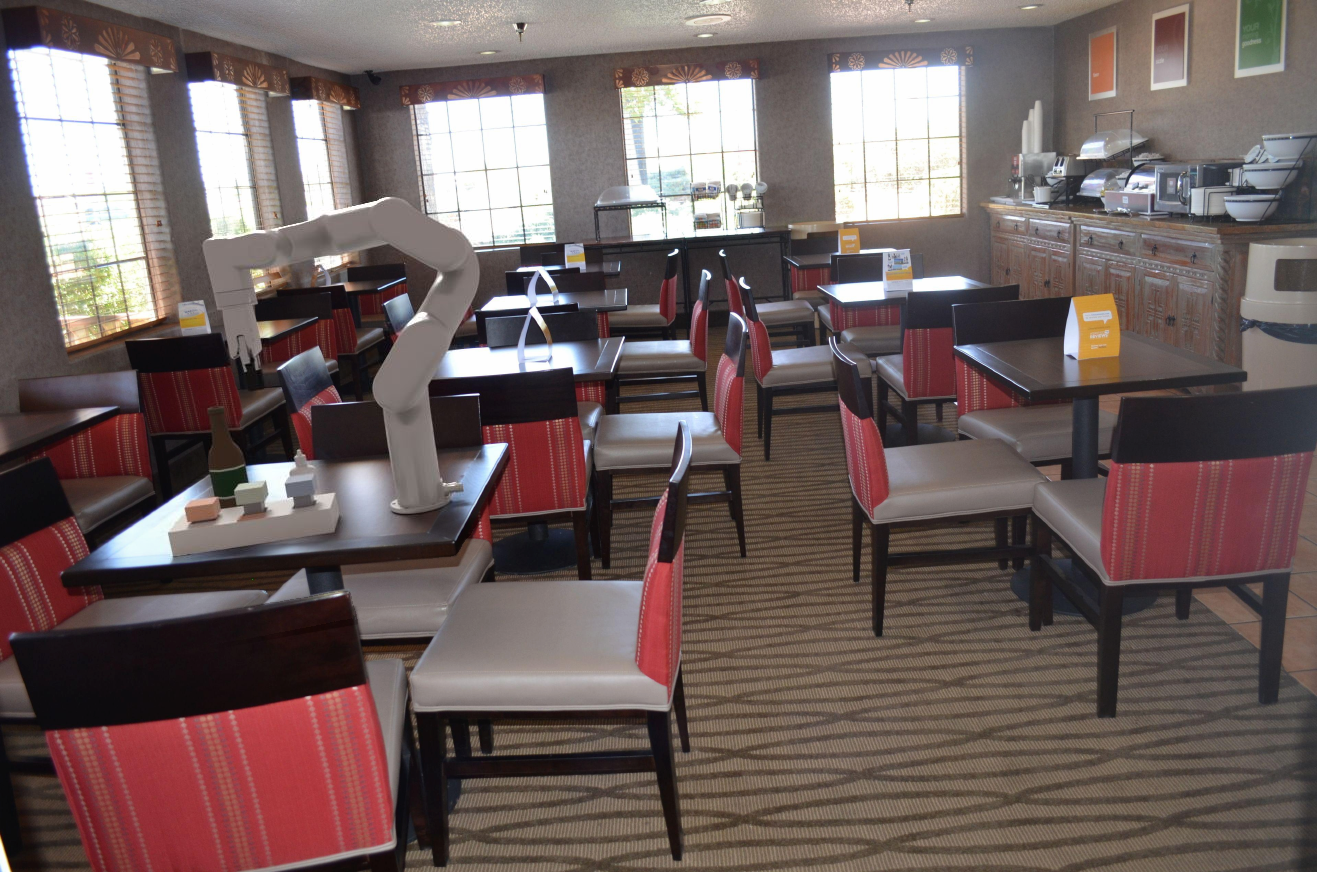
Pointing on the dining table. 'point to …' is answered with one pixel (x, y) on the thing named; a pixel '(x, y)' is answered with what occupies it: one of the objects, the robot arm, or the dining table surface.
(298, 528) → the console
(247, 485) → the sage button
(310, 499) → the slate button
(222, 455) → the beer bottle
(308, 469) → the eye dropper bottle
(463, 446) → the dining table surface
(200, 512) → the terracotta button
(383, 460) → the dining table surface
